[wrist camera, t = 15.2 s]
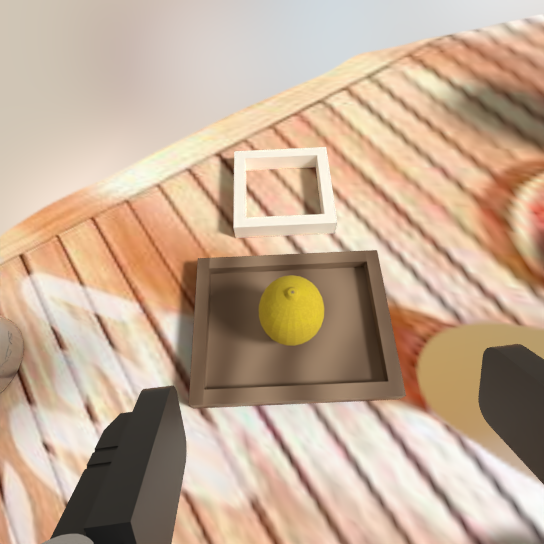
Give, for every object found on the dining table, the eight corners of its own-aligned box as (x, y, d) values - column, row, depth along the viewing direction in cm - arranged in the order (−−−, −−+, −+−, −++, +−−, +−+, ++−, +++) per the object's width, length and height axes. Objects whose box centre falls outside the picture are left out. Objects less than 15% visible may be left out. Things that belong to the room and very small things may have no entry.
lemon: (261, 356, 33) (255, 328, 26) (260, 300, 36) (255, 260, 29) (322, 354, 33) (333, 325, 26) (317, 298, 36) (326, 258, 29)
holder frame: (235, 237, 40) (233, 227, 38) (236, 163, 45) (234, 151, 43) (334, 233, 40) (337, 222, 38) (324, 159, 45) (326, 147, 43)
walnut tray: (193, 408, 32) (188, 405, 30) (201, 267, 39) (197, 258, 37) (399, 399, 32) (405, 395, 30) (372, 260, 38) (376, 250, 37)
